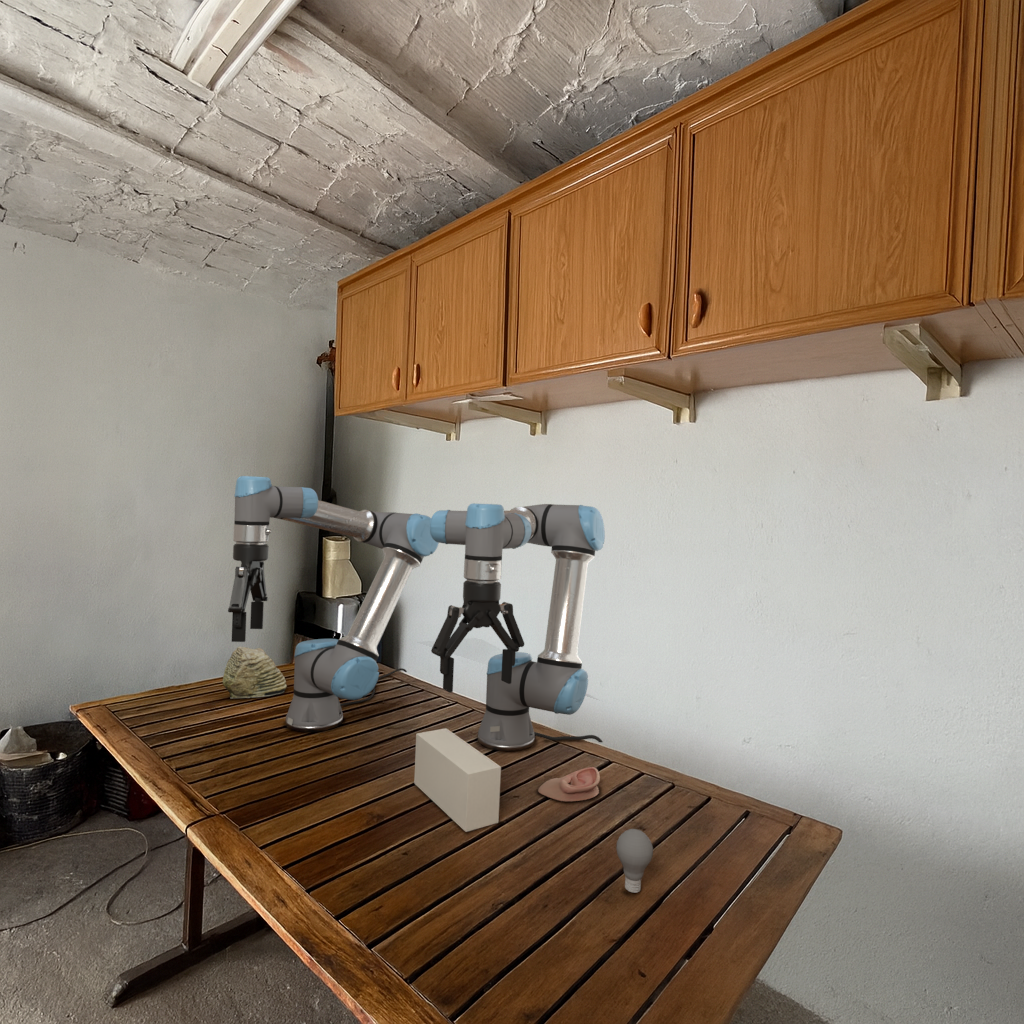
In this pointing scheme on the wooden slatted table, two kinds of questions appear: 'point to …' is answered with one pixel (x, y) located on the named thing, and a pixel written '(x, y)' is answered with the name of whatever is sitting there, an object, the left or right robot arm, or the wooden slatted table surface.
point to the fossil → (252, 674)
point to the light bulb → (634, 857)
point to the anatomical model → (573, 786)
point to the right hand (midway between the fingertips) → (477, 686)
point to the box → (458, 778)
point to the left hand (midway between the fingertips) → (247, 635)
